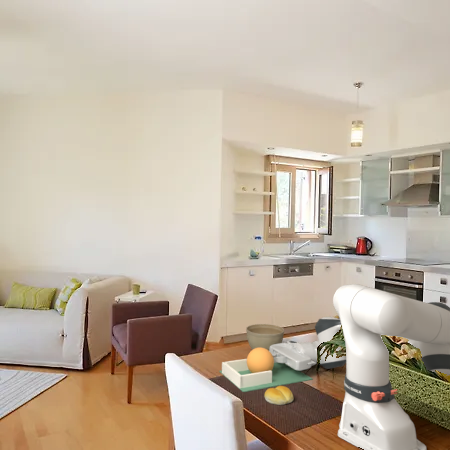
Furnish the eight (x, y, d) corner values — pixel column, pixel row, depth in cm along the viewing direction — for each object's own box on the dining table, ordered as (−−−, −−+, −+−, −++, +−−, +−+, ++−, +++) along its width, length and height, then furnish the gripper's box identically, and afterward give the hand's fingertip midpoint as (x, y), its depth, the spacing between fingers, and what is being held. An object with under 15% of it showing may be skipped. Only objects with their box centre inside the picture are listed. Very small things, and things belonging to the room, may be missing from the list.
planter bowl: (246, 360, 166) (246, 333, 166) (245, 347, 182) (245, 323, 182) (285, 361, 165) (286, 334, 165) (281, 348, 181) (282, 324, 181)
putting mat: (312, 379, 146) (312, 378, 146) (243, 392, 135) (243, 391, 135) (282, 361, 164) (282, 360, 164) (219, 371, 153) (219, 370, 153)
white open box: (271, 382, 142) (272, 371, 142) (239, 388, 137) (240, 376, 137) (251, 368, 156) (251, 357, 156) (221, 373, 151) (222, 362, 151)
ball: (271, 348, 144) (248, 365, 142) (283, 370, 147) (260, 386, 144) (260, 338, 153) (238, 353, 151) (270, 358, 156) (249, 373, 154)
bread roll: (260, 397, 131) (260, 385, 131) (283, 392, 135) (283, 380, 135) (273, 408, 124) (273, 395, 124) (298, 403, 128) (298, 390, 128)
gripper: (318, 372, 148) (286, 377, 142) (287, 354, 167) (258, 359, 161) (318, 354, 148) (286, 359, 142) (288, 339, 166) (258, 343, 161)
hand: (271, 359), depth 152 cm, fingers closed
